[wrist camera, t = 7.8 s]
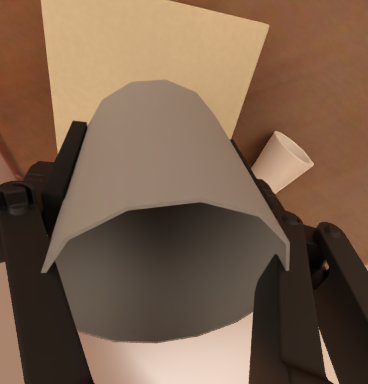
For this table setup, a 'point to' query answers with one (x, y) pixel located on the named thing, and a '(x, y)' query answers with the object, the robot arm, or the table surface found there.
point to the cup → (160, 221)
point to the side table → (146, 54)
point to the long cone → (281, 162)
